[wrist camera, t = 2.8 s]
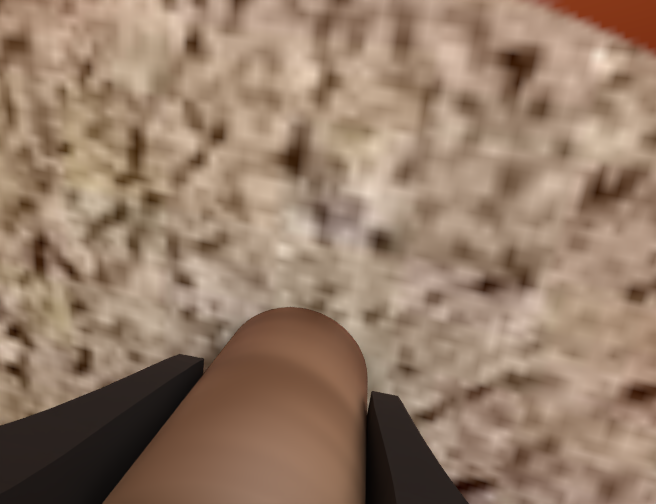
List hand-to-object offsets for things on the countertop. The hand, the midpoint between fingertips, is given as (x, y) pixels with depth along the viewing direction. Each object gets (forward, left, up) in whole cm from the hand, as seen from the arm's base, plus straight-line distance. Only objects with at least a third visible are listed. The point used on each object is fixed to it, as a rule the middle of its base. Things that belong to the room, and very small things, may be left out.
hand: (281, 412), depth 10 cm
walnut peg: (0, 0, -2) cm, 2 cm away
